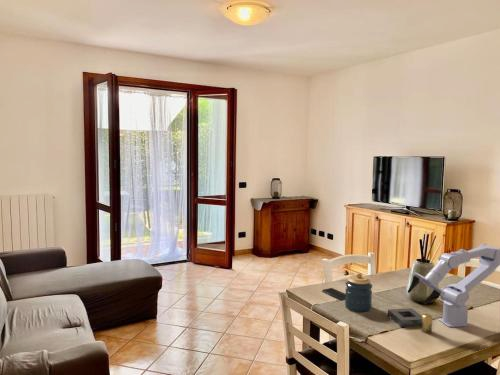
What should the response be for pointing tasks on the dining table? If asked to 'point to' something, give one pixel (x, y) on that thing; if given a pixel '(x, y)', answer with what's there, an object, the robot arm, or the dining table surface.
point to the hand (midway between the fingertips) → (416, 297)
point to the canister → (358, 293)
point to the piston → (426, 323)
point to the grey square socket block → (405, 317)
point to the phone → (334, 293)
